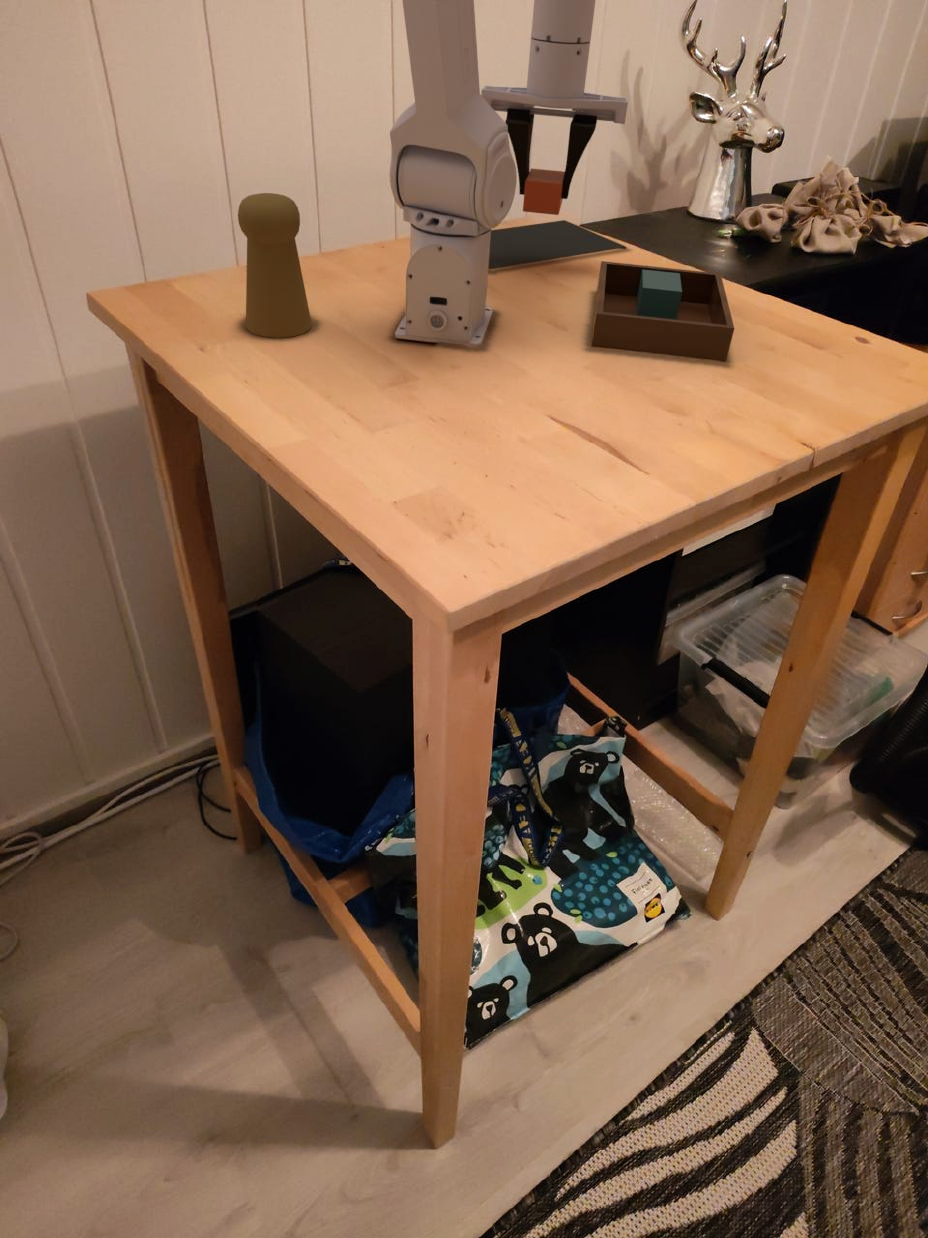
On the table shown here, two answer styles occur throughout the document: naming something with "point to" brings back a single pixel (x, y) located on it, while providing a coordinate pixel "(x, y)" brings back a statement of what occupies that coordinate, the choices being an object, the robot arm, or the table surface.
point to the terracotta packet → (543, 191)
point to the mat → (543, 243)
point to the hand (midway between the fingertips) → (544, 194)
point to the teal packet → (659, 294)
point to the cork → (273, 267)
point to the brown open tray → (691, 335)
